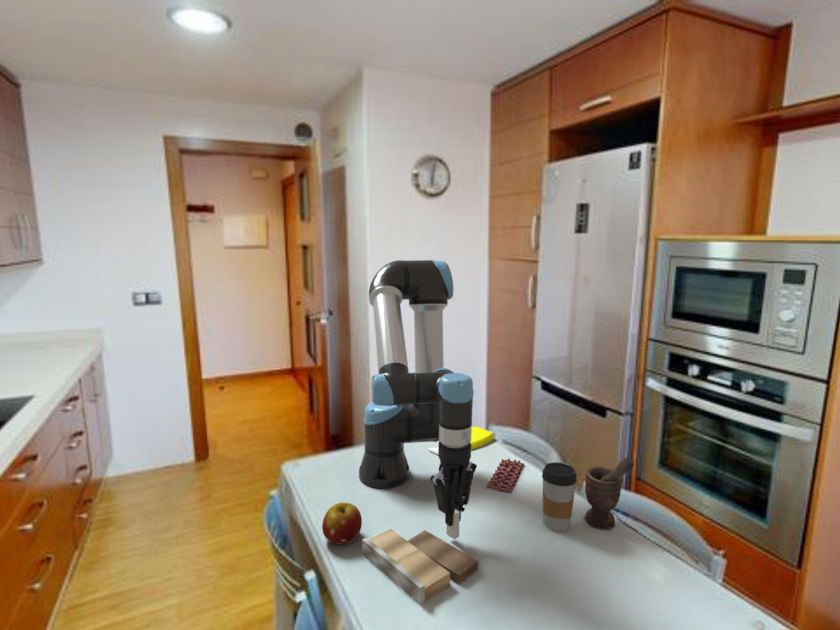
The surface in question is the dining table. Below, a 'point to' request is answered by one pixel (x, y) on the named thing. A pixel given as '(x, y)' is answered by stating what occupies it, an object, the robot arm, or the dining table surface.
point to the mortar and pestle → (604, 492)
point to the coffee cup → (558, 495)
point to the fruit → (342, 523)
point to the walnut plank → (445, 556)
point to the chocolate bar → (506, 476)
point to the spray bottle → (474, 439)
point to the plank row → (406, 565)
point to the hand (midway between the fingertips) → (452, 535)
